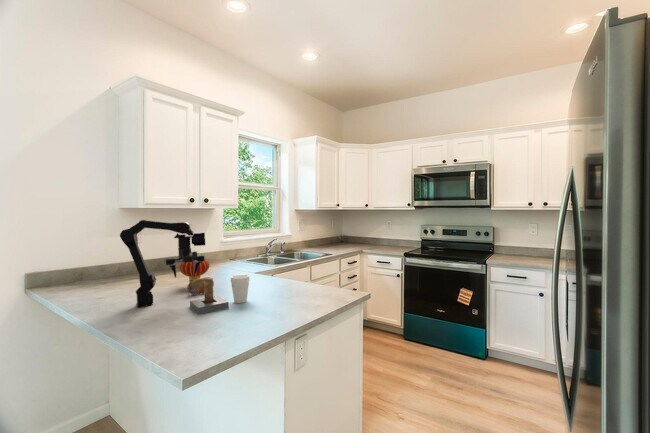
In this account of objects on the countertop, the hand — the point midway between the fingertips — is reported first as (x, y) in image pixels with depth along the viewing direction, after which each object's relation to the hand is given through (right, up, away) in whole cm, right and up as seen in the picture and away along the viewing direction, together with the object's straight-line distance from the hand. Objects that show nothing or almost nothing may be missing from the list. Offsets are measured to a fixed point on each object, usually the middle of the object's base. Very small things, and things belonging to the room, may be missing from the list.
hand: (185, 276), depth 163 cm
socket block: (+17, -13, -11) cm, 24 cm away
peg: (+16, -13, -11) cm, 24 cm away
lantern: (-8, -12, +32) cm, 35 cm away
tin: (+2, -13, +16) cm, 20 cm away
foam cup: (+29, -13, -1) cm, 32 cm away
